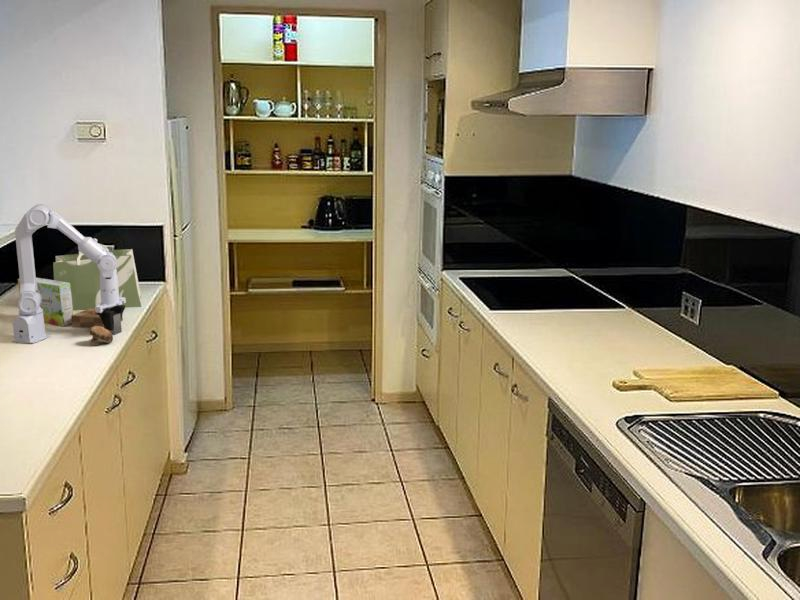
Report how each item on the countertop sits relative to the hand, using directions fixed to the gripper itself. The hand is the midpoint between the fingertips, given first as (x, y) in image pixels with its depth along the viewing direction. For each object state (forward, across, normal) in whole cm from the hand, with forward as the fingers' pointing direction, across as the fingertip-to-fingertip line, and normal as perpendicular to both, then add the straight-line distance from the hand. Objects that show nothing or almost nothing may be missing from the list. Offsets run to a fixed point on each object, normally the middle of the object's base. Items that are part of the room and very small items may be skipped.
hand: (112, 328), depth 278 cm
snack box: (+2, +7, +31) cm, 31 cm away
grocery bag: (+2, +32, +28) cm, 43 cm away
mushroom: (+2, -12, -4) cm, 13 cm away
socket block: (+2, +9, +12) cm, 15 cm away
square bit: (+2, 0, 0) cm, 2 cm away
